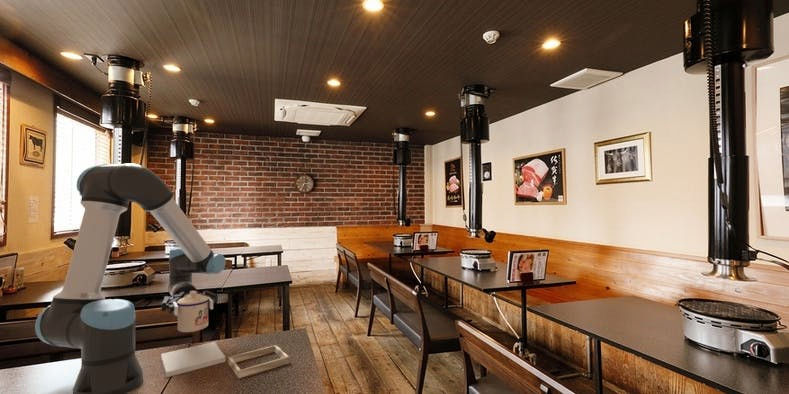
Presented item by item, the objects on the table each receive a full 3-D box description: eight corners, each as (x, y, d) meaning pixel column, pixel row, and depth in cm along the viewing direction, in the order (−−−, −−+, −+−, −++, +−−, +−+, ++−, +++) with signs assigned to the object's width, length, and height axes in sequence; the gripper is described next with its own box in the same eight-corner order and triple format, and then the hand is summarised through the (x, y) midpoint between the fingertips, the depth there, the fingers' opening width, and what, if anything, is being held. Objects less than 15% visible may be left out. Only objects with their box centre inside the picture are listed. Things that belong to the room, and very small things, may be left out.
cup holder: (228, 363, 113) (228, 357, 113) (275, 350, 122) (275, 344, 122) (238, 378, 103) (238, 371, 103) (289, 363, 112) (289, 356, 113)
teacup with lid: (199, 332, 110) (199, 295, 110) (170, 333, 110) (170, 295, 110) (218, 319, 122) (218, 285, 122) (192, 319, 122) (192, 285, 122)
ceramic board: (160, 358, 117) (160, 353, 117) (214, 345, 127) (214, 341, 127) (166, 377, 104) (166, 372, 104) (225, 361, 114) (225, 357, 114)
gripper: (217, 298, 136) (231, 312, 119) (148, 309, 123) (153, 327, 105) (217, 278, 136) (231, 290, 119) (148, 287, 123) (153, 302, 105)
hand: (194, 308), depth 112 cm, fingers closed on teacup with lid, 9 cm apart
